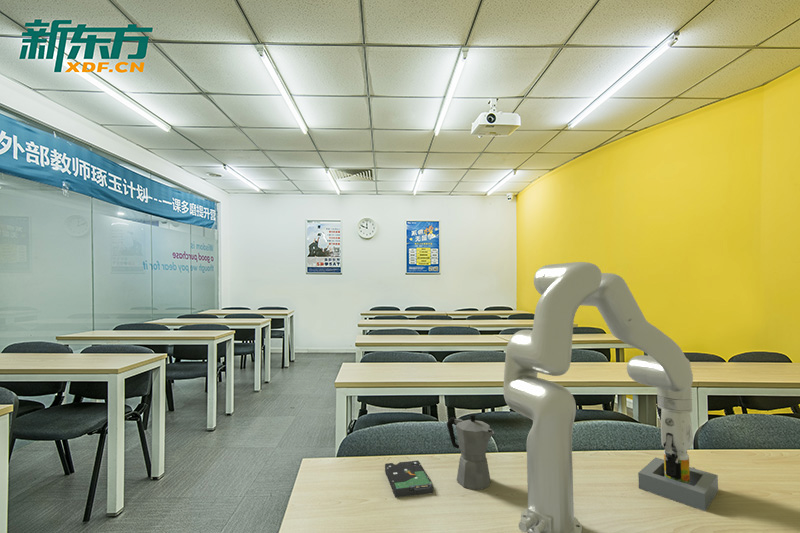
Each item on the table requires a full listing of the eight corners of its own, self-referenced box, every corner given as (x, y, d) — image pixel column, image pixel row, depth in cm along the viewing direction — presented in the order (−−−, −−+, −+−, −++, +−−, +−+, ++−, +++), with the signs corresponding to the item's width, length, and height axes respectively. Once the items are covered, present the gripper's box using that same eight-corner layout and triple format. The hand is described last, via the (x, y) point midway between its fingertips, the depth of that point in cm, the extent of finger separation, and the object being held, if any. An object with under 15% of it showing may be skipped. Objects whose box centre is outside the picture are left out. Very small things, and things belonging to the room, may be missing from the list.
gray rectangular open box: (705, 511, 91) (704, 492, 91) (638, 488, 102) (638, 471, 102) (725, 479, 106) (724, 463, 106) (665, 462, 117) (665, 447, 117)
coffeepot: (504, 483, 104) (502, 415, 105) (485, 497, 98) (484, 424, 99) (457, 465, 115) (456, 404, 116) (437, 476, 108) (437, 411, 109)
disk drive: (384, 473, 112) (395, 500, 97) (384, 463, 112) (395, 488, 97) (418, 469, 114) (434, 494, 100) (418, 459, 114) (434, 483, 100)
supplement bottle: (669, 484, 99) (667, 445, 100) (661, 474, 104) (660, 437, 105) (693, 487, 98) (692, 448, 98) (685, 477, 103) (683, 440, 103)
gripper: (682, 413, 94) (685, 490, 93) (700, 400, 105) (703, 468, 104) (647, 406, 99) (649, 478, 98) (667, 394, 111) (670, 459, 109)
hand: (677, 472), depth 101 cm, fingers closed on supplement bottle, 5 cm apart
